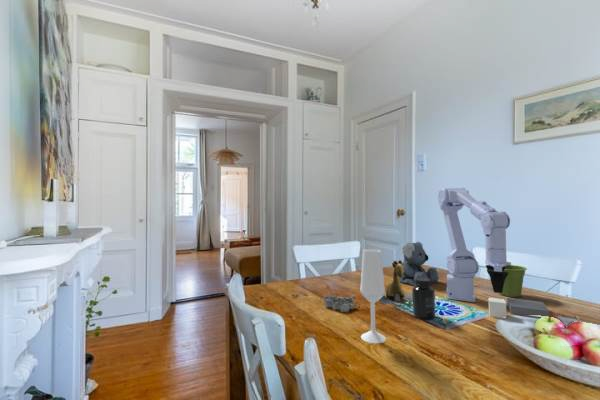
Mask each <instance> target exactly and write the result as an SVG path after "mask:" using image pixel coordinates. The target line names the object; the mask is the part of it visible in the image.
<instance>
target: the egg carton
mask: <svg viewBox="0 0 600 400" xmlns="http://www.w3.org/2000/svg"><path fill="white" fill-rule="evenodd" d="M322 298H323V299H324V300H323V301H324V304H323V306H324V307H325V308H332V310H334V311H335V310H340V312H343V313H344V312H350V310H354V309H355V302H354V301H355V300H356V297H355V296H348V297H346V296H344V297H342V296H335V295H332V294H331V295H327V296H324V297H322Z"/></svg>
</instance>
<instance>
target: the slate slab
mask: <svg viewBox="0 0 600 400" xmlns="http://www.w3.org/2000/svg"><path fill="white" fill-rule="evenodd" d="M506 298H507V301H506V306H507V308H508V310H509V312H510V314H512V315H518V316H524V315H541V316H549V317H550V310H549V309H548V308H547V306H546V305H545V303H544V302H543V301H538V300H536V301H535V300H530V299H529V300H528V299H519V298H514V297H511V298H510V297H506Z"/></svg>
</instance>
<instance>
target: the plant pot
mask: <svg viewBox="0 0 600 400" xmlns="http://www.w3.org/2000/svg"><path fill="white" fill-rule="evenodd" d="M527 270H528V268H527V267H525V266H521V265H515V264H511V265H506V266H505V269H504V271H503V272H508V275H507V277H506V279H505V282H504V286H503V291H502V293H498V294H499V295H503V296H505V297H507V298H510V297H511V298H517V297H519V298H520V297H522V290H523V285H524V284H523V283H524V276H525V273H526V271H527Z"/></svg>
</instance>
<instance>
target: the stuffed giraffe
mask: <svg viewBox="0 0 600 400" xmlns="http://www.w3.org/2000/svg"><path fill="white" fill-rule="evenodd" d="M403 264H404V263H403V262H402V260H398V261H397V260H394V261H393V262H392V263H391V265H392V268H393V273H392V274H393V275H392V276H393V278H392V281H391V282H390V283H388V285H387V289H386V290H385V294H384V295H383V296H382V298H381V299H379V300H378V301H380V303H381V304H382V306H384V307H385V306H386V307H387V304H388V305H389V304H392V305H393V306H395V307H397V306H398V307H399V305H400V304H401V303H403V302H406V301H408V300H410V302H411V301H413V297H412V293H409V292H406V291H404V289H403V288H402V284H401V283H402V282H400V280H399V277H402V276H403V266H402V265H403ZM403 298H405V299H403ZM399 302H401V303H399Z"/></svg>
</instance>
